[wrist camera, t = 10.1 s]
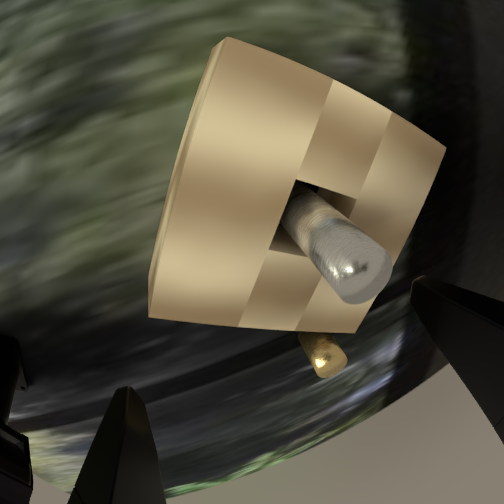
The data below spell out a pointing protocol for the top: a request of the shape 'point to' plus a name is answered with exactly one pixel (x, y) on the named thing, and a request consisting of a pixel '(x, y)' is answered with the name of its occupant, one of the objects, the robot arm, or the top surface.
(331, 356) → the short brass pin
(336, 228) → the long steel pin
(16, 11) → the top surface
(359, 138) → the birch hole block
